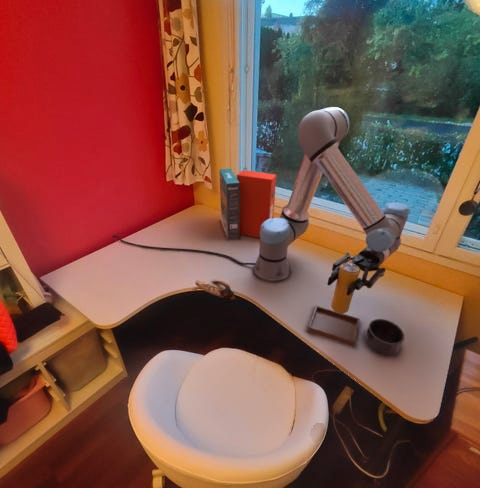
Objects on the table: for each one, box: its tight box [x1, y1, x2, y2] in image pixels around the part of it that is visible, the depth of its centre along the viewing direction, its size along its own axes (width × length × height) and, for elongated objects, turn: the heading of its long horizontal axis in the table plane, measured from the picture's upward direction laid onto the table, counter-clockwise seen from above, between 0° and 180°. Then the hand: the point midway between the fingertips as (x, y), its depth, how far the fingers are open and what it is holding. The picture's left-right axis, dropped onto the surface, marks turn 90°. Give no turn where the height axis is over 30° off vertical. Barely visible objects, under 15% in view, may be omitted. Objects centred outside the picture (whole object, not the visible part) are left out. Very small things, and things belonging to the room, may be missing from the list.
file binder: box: [236, 169, 277, 239], centre depth 145 cm, size 8×17×32 cm, turn 68°
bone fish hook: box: [195, 279, 236, 301], centre depth 113 cm, size 9×5×18 cm
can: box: [330, 262, 361, 314], centre depth 89 cm, size 6×6×16 cm
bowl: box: [364, 318, 405, 357], centre depth 92 cm, size 10×10×6 cm
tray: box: [307, 305, 360, 348], centre depth 98 cm, size 15×12×2 cm
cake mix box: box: [218, 168, 240, 240], centre depth 149 cm, size 22×6×30 cm, turn 12°
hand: (338, 286), depth 84 cm, fingers closed on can, 6 cm apart
